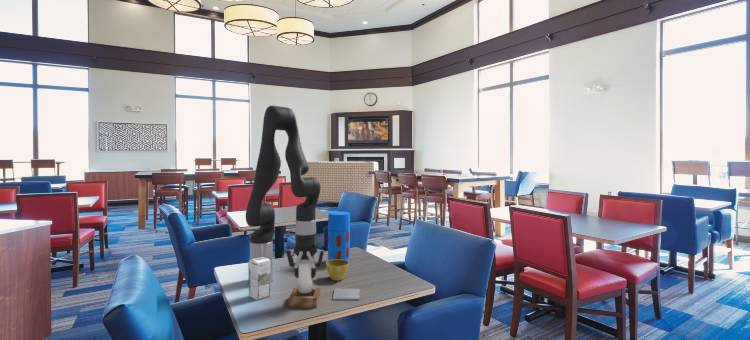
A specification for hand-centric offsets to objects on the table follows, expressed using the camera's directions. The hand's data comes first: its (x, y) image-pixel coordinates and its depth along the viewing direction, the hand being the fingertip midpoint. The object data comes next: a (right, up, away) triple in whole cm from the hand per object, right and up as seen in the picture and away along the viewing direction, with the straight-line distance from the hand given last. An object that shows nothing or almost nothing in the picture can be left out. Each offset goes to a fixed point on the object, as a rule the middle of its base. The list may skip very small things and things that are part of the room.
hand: (305, 277), depth 139 cm
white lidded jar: (0, -5, 0) cm, 5 cm away
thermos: (+8, -7, +51) cm, 52 cm away
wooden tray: (0, -9, 0) cm, 9 cm away
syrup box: (-18, -9, +5) cm, 21 cm away
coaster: (+15, -9, +8) cm, 19 cm away
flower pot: (+9, -8, +27) cm, 29 cm away
